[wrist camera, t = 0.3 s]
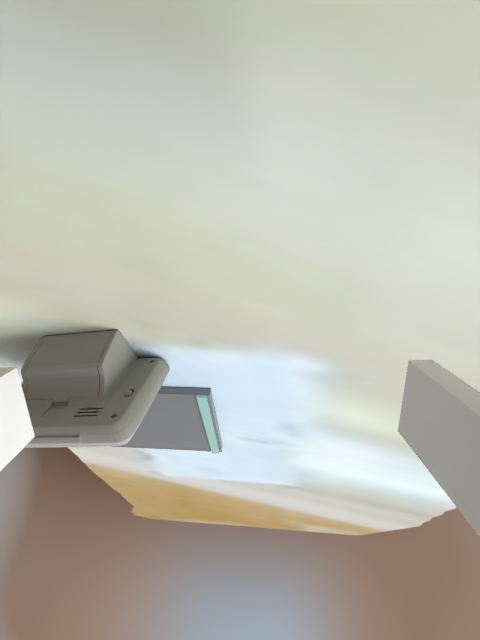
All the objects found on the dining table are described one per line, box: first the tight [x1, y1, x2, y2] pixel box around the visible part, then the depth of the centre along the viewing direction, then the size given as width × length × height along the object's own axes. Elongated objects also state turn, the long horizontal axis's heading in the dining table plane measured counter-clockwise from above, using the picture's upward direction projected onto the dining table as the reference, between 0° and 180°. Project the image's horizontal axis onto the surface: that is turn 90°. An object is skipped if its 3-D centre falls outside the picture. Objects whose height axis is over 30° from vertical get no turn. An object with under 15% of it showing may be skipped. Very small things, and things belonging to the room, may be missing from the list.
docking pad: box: [113, 387, 222, 453], centre depth 44 cm, size 18×24×1 cm
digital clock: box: [21, 330, 169, 448], centre depth 30 cm, size 16×9×11 cm, turn 89°
